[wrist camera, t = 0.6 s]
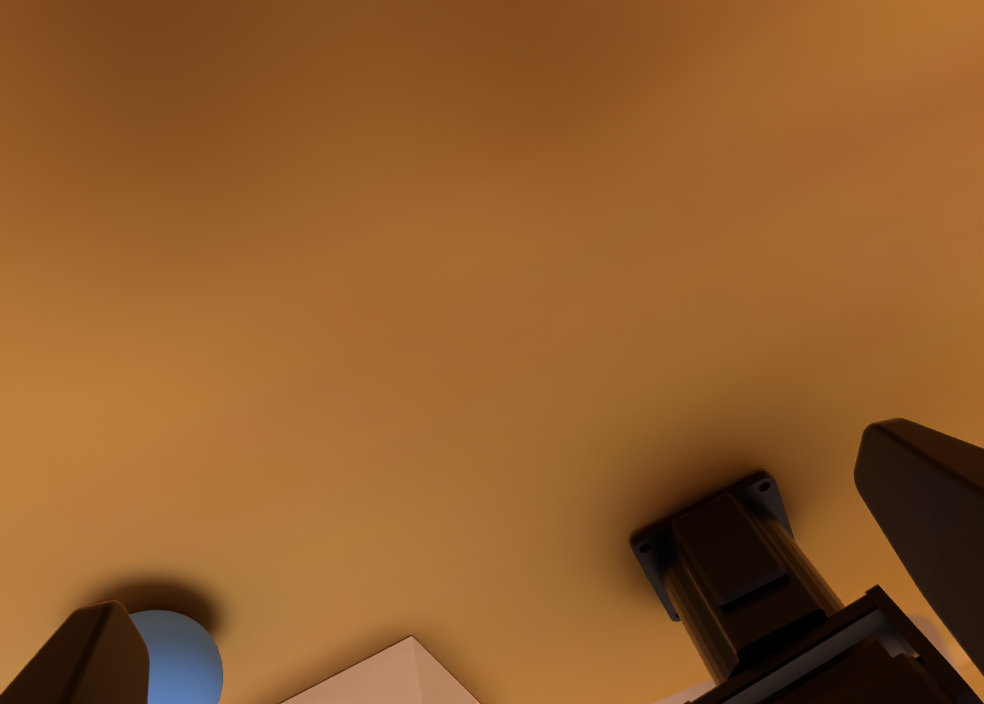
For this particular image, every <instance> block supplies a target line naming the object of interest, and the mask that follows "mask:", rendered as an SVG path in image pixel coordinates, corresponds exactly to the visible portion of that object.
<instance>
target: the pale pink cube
mask: <svg viewBox="0 0 984 704" xmlns="http://www.w3.org/2000/svg"><path fill="white" fill-rule="evenodd" d="M281 704H480V703H479V702H478V701H477V700H476V699H475V698H474V697H473V696H472V695H471V694H470V693H469V692H468V691H467V690H466V689H465V688H464V687H463V686H462V685H461V684H460V683H459V682H458V681H457V680H456V679H455V678H454V677H453V676H452V675H451V674H450V673H449V672H448V671H447V670H446V669H445V668H444V667H443V666H442V665H441V664H440V663H439V662H438V661H437V660H436V659H435V658H434V657H433V656H432V655H431V654H430V653H429V652H428V651H427V650H426V649H425V648H424V647H423V646H422V645H421V644H420V643H419V642H417V641H416V640H415V639H414V638H413V637H412V636H411V637H409V638H407V639H405V640H403V641H401V642H399V643H397V644H395V645H393V646H391V647H389V648H387V649H385V650H383V651H381V652H380V653H378V654H376V655H374V656H372V657H370V658H368V659H366V660H364V661H362V662H360V663H358V664H356V665H354V666H352V667H350V668H349V669H347V670H345V671H343V672H341V673H339V674H337V675H335V676H333V677H331V678H329V679H327V680H325V681H323V682H321V683H319V684H318V685H316V686H314V687H312V688H310V689H308V690H306V691H304V692H302V693H300V694H298V695H296V696H294V697H292V698H290V699H288V700H287V701H285V702H283V703H281Z"/></svg>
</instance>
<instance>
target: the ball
mask: <svg viewBox="0 0 984 704" xmlns="http://www.w3.org/2000/svg"><path fill="white" fill-rule="evenodd" d="M129 615H130V617H131V619H132V620H133V622H134V624H135V626H136V627H137V629H138V631H139V632H140V634H141V636H142V637H143V639H144V641H145V643H146V645H147V648H148V652H149V659H150V672H149V689H148V704H218V703H219V700H220V697H221V691H222V685H223V667H222V660H221V657H220V654H219V650H218V647H217V646H216V644H215V642H214V640H213V639H212V637H211V636H210V634H209V633H208V632H207V631H206V630H205V629H204V628H203V627H202V626H201V625H200V624H199V623H197V622H196V621H194V620H193V619H191V618H189V617H187V616H185V615H182V614H180V613H176V612H172V611H166V610H147V611H141V612H136V613H133V614H129Z"/></svg>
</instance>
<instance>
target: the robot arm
mask: <svg viewBox="0 0 984 704" xmlns="http://www.w3.org/2000/svg"><path fill="white" fill-rule="evenodd" d="M854 481H855V485H856V487H857V490H858V492H859V494H860V495H861V497H862V499H863V500H864V502H865V503H866V505H867V507H868V508H869V510H870V512H871V513H872V515H873V516H874V518H875V520H876V521H877V523H878V525H879V526H880V528H881V529H882V531H883V533H884V534H885V536H886V538H887V539H888V541H889V542H890V544H891V546H892V547H893V549H894V550H895V552H896V554H897V555H898V557H899V559H900V560H901V562H902V563H903V565H904V567H905V568H906V570H907V572H908V573H909V575H910V576H911V578H912V580H913V581H914V583H915V584H916V586H917V587H918V589H919V590H920V592H921V593H922V595H923V596H924V598H925V599H926V600H927V602H928V603H929V605H930V606H931V607H932V609H933V610H934V611H935V613H936V614H937V616H938V617H939V618H940V619H941V621H942V622H943V623H944V625H945V626H946V627H947V629H948V630H949V631H950V633H951V634H952V635H953V637H954V638H955V639H956V641H957V642H958V643H959V645H960V646H961V647H962V648H963V650H964V651H965V652H966V654H967V655H968V656H969V658H970V659H971V660H972V662H973V663H974V664H975V666H976V667H977V668H978V670H979V671H980V672H981V673H982V675H983V676H984V449H983V448H981V447H978V446H975V445H973V444H970V443H967V442H965V441H962V440H959V439H957V438H954V437H951V436H949V435H946V434H943V433H941V432H938V431H936V430H933V429H930V428H928V427H925V426H922V425H920V424H917V423H914V422H912V421H909V420H906V419H903V418H893V419H888V420H884V421H880V422H875V423H871V424H869V425H868V426H867V427H866V428H865V430H864V431H863V434H862V439H861V443H860V447H859V451H858V456H857V460H856V464H855V469H854ZM630 547H631V549H632V550H633V552H634V554H635V556H636V558H637V560H638V561H639V563H640V565H641V567H642V568H643V570H644V572H645V574H646V576H647V577H648V579H649V581H650V583H651V584H652V586H653V588H654V590H655V591H656V593H657V595H658V597H659V599H660V600H661V602H662V604H663V606H664V607H665V609H666V611H667V613H668V615H669V616H670V618H671V620H673V621H676V622H677V621H682V623H683V625H684V627H685V629H686V630H687V632H688V634H689V636H690V638H691V640H692V642H693V644H694V645H695V647H696V649H697V651H698V653H699V655H700V657H701V659H702V660H703V662H704V664H705V666H706V668H707V670H708V672H709V674H710V675H711V677H712V679H713V681H714V683H715V685H716V687H715V688H713V689H712V690H710V691H708V692H707V693H705V694H704V695H702V696H700V697H699V698H697V699H696V700H694V701H693V702H690V701H687V702H686V703H684V704H984V703H983V702H982V701H981V700H980V698H979V697H978V696H977V695H976V694H975V692H974V691H973V690H972V689H971V688H970V687H969V685H968V684H967V683H966V682H965V681H964V679H963V678H962V677H961V676H960V675H959V674H958V673H957V671H956V670H955V669H954V668H953V667H952V666H951V665H950V664H949V662H948V661H947V660H946V659H945V658H944V657H943V656H942V655H941V654H940V653H939V651H938V650H937V649H936V648H935V647H934V646H933V645H932V644H931V643H930V641H929V640H928V639H927V638H926V637H925V636H924V635H923V634H922V633H921V632H920V630H919V629H918V628H917V627H916V626H915V625H914V624H913V623H912V622H911V620H910V619H909V618H908V617H907V616H906V615H905V614H904V613H903V612H902V610H901V609H900V608H899V607H898V606H897V605H896V604H895V603H894V602H893V600H892V599H891V598H890V597H889V596H888V595H887V594H886V593H885V592H884V591H883V589H882V588H881V587H880V586H879V585H878V584H877V585H875V586H874V587H872V588H870V589H869V590H867V591H866V592H865V593H866V595H864V596H863V597H861V598H860V599H858V600H856V601H855V602H853V603H851V604H850V605H848V606H847V607H845V606H844V604H843V603H842V602H841V600H840V599H839V598H838V597H837V595H836V594H835V593H834V591H833V590H832V589H831V588H830V586H829V585H828V584H827V582H826V581H825V580H824V579H823V577H822V576H821V575H820V573H819V572H818V571H817V570H816V568H815V567H814V566H813V564H812V563H811V562H810V560H809V559H808V558H807V557H806V555H805V554H804V553H803V551H802V550H801V549H800V548H799V546H798V545H797V544H796V542H795V540H794V537H793V534H792V531H791V528H790V525H789V521H788V518H787V515H786V512H785V509H784V506H783V503H782V500H781V497H780V494H779V490H778V487H777V484H776V481H775V480H774V479H773V477H772V476H771V475H770V474H769V473H768V472H766V471H761V472H758V473H756V474H754V475H752V476H750V477H748V478H746V479H744V480H742V481H740V482H738V483H736V484H734V485H733V486H731V487H729V488H727V489H725V490H723V491H721V492H719V493H717V494H715V495H713V496H711V497H709V498H707V499H705V500H703V501H701V502H699V503H698V504H696V505H694V506H692V507H690V508H688V509H686V510H684V511H682V512H680V513H678V514H676V515H674V516H672V517H670V518H668V519H666V520H665V521H663V522H661V523H659V524H657V525H655V526H653V527H651V528H649V529H647V530H645V531H643V532H641V533H639V534H637V535H636V536H634V537H633V538H632V540H631V542H630ZM149 672H150V659H149V652H148V648H147V645H146V643H145V641H144V639H143V637H142V636H141V634H140V632H139V631H138V629H137V627H136V626H135V624H134V622H133V620H132V619H131V617H130V615H129V614H128V612H127V610H126V609H125V607H124V606H123V605H122V603H120V602H119V601H117V600H108V601H104V602H100V603H96V604H91V605H87V606H83V607H80V608H78V609H76V610H75V611H74V612H73V613H72V614H71V615H70V616H69V617H68V618H67V619H66V620H65V621H64V622H63V623H62V625H61V626H60V627H59V628H58V629H57V630H56V631H55V633H54V634H53V635H52V636H51V637H50V638H49V640H48V641H47V642H46V643H45V644H44V645H43V646H42V648H41V649H40V650H39V651H38V652H37V653H36V654H35V656H34V657H33V658H32V659H31V660H30V661H29V662H28V664H27V665H26V666H25V667H24V668H23V669H22V670H21V672H20V673H19V674H18V675H17V676H16V677H15V678H14V680H13V681H12V682H11V683H10V684H9V685H8V686H7V688H6V689H5V690H4V691H3V692H2V693H1V694H0V704H148V689H149Z"/></svg>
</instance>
